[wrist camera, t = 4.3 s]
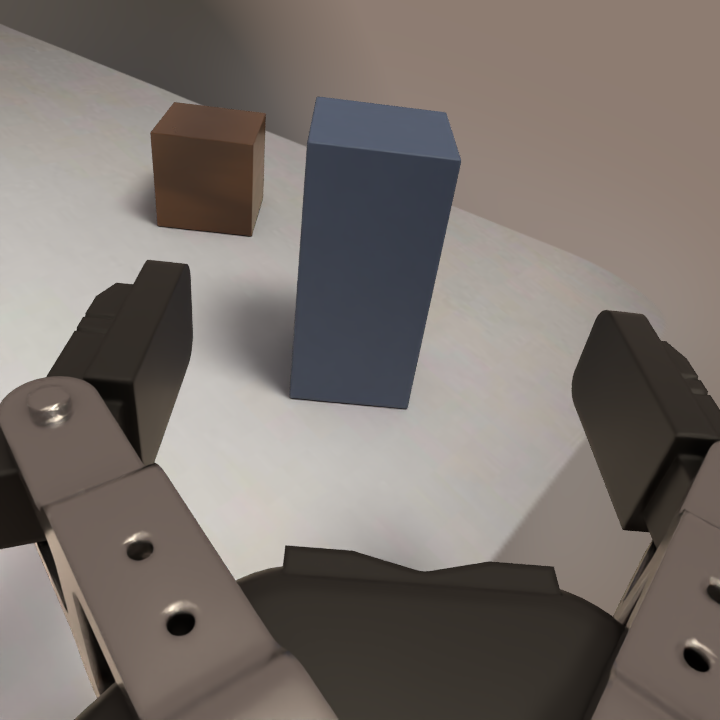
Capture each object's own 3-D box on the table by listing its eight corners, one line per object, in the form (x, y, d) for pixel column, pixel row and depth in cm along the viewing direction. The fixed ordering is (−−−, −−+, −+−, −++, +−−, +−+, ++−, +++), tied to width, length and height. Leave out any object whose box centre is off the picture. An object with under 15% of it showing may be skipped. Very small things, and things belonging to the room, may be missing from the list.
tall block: (401, 340, 29) (446, 112, 23) (407, 409, 25) (461, 159, 19) (298, 330, 29) (316, 95, 23) (289, 398, 25) (306, 141, 19)
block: (263, 198, 39) (265, 113, 36) (251, 236, 35) (253, 144, 32) (178, 188, 39) (173, 101, 36) (157, 226, 35) (150, 132, 32)
